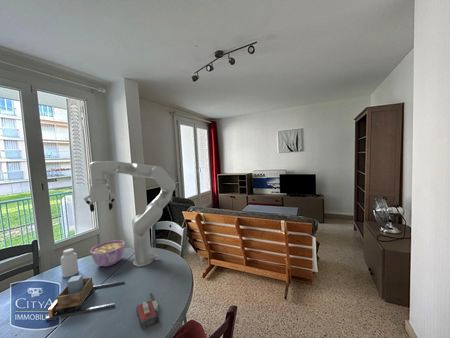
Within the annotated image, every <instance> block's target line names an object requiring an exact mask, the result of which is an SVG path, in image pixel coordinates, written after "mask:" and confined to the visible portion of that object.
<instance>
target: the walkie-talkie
mask: <svg viewBox="0 0 450 338" xmlns="http://www.w3.org/2000/svg"><path fill="white" fill-rule="evenodd" d="M149 298H150V300H148V301H147V300H146V301H144V302H142V303H140V304H138V305H137V306H136V309H135V310H136V316H137V318H139V319H138V321H139V326H141V327H140V329H142V328H143V329H145V328H147V327H149V325H150V326H152V325H153V323H154V324H157V323H158V322H159V317H158V314H157V313H158V310H159V304H158V302H157V301H158V300H156V299H154V296H153V293H152V292H149ZM151 324H152V325H151ZM146 326H147V327H146ZM144 327H145V328H144Z"/></svg>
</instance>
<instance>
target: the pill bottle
mask: <svg viewBox="0 0 450 338" xmlns="http://www.w3.org/2000/svg"><path fill="white" fill-rule="evenodd" d="M78 262H79V261H78V254H77V253H76V252H75V249H74V248H67V249H64V250H63V251H62V256H61V257H60V266H61V275H62V278H71V277H73V276H76V274H78V273H79V263H78Z"/></svg>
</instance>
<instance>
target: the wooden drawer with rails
mask: <svg viewBox="0 0 450 338" xmlns="http://www.w3.org/2000/svg"><path fill="white" fill-rule="evenodd" d="M122 284H125V280H117V281H113V282H108V283H103V284H102V283H101V284H96V285H94V289H93V290H96V289H102V288H106V287H112V286H117V285H122ZM115 306H116V303H115V302H112V303H107V304H102V305H97V306H92V307H87V308H81V310H77V311H76V310H72V311H68V312H63V313H62V314H57V315H55V313H56V312H57V310H56V307H57V299H56V300H54V302H53V303H52V304H51V305H50V306H49V308H48V316H46V317H45V321H46V320H48V321H52V320H51V319H53V320H56V319H55V318H58V319H60V318H59V317H63V318H66V317H67V316H68V317H72V316H75V315H81V314H87V313H90V312H96V311H100V310H105V309H110V308H115ZM68 317H67V318H68Z"/></svg>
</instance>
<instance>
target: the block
mask: <svg viewBox="0 0 450 338" xmlns="http://www.w3.org/2000/svg"><path fill="white" fill-rule="evenodd" d="M67 285H68V294H75V293H80V292H81V290H82V289H83V274H80V275H73V276H70V277H69V279H68V280H67V282H66V286H67Z"/></svg>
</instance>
